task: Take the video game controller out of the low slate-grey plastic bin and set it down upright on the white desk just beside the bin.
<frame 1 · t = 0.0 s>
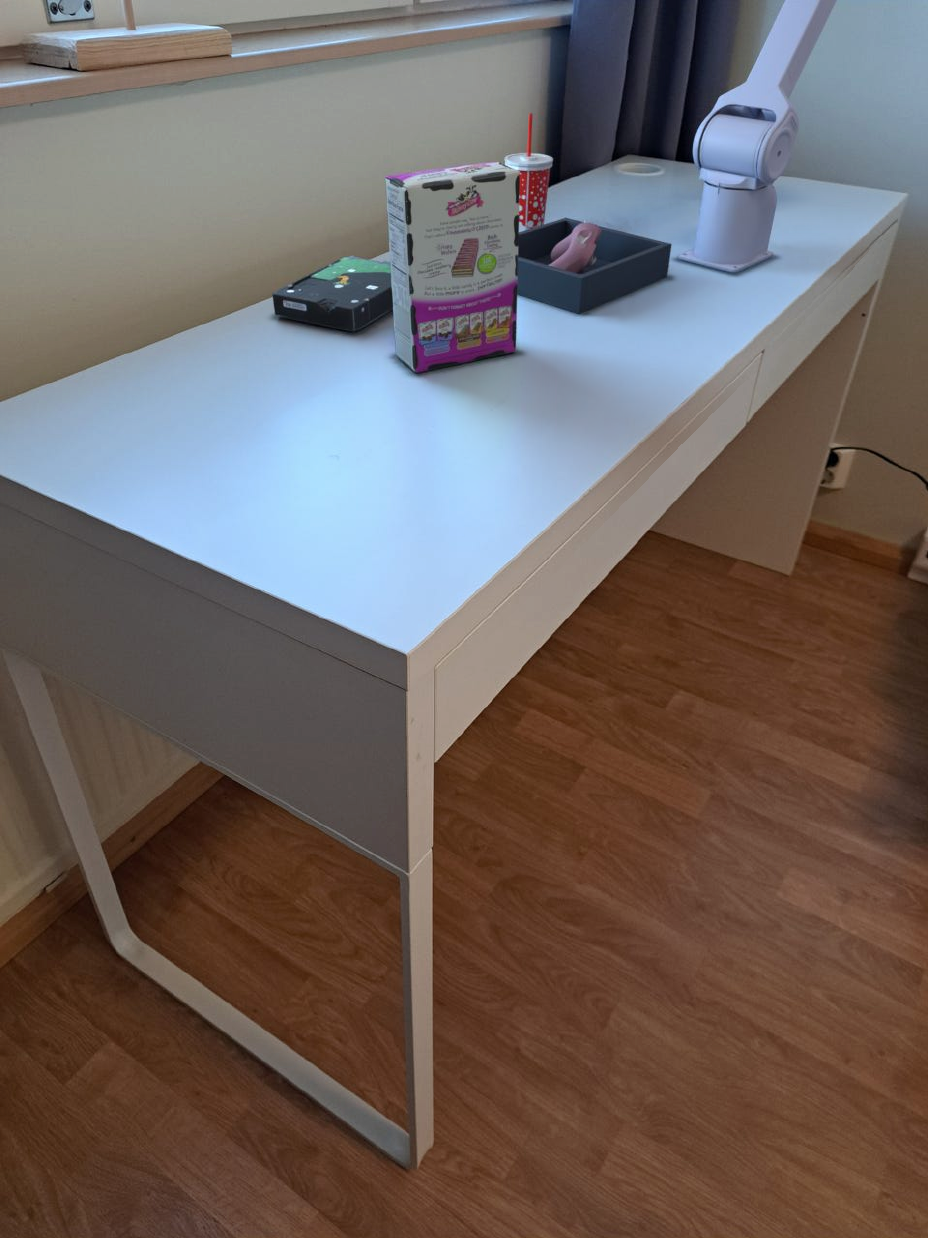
beverage cup: (525, 233, 122), on the table
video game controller: (570, 277, 107), resting on bin
bin: (570, 278, 107), on the table
disk drive: (352, 305, 100), on the table
candy bar box: (454, 356, 89), on the table
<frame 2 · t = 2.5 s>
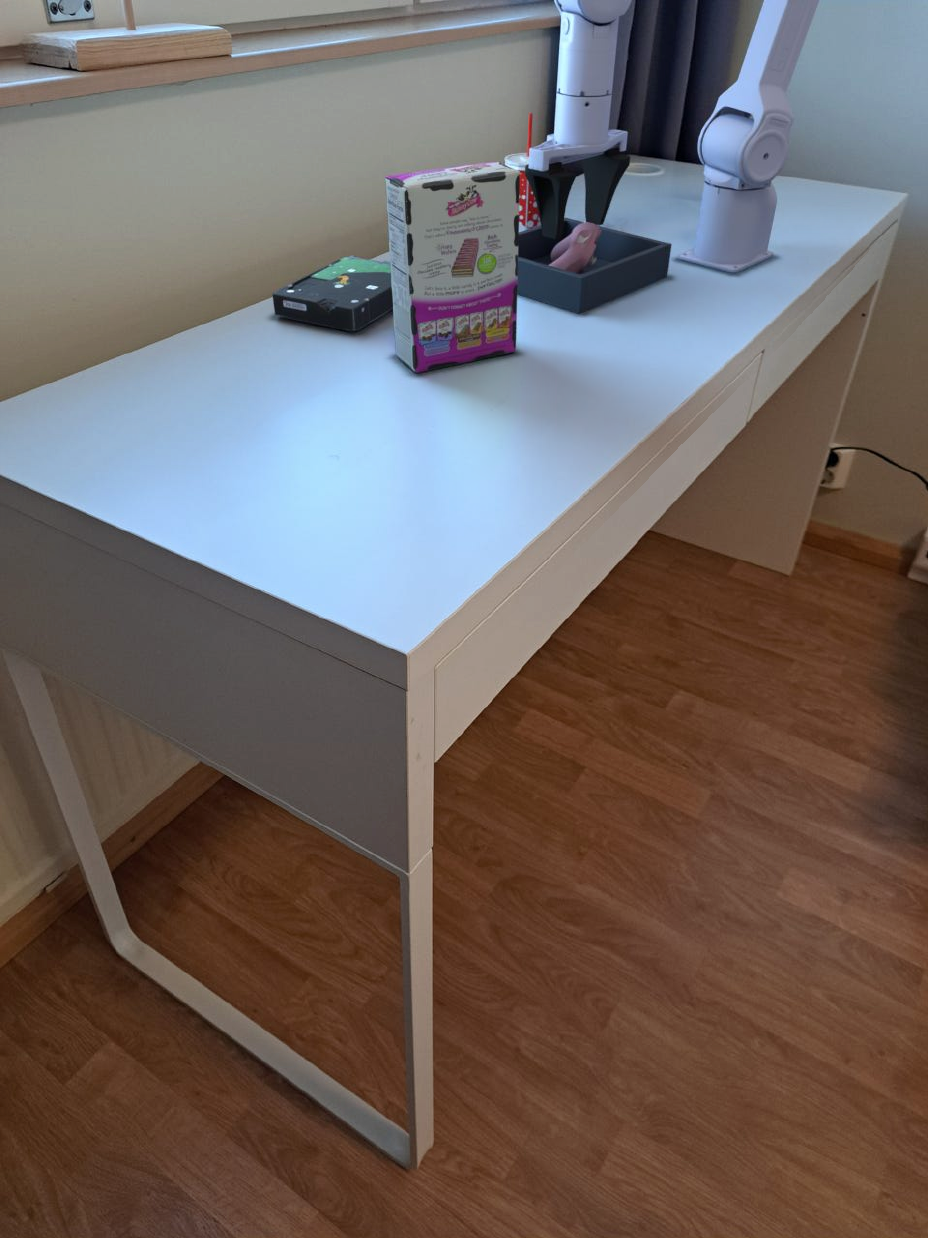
hand: (573, 229, 103), 5 cm above the table, tool pointing down, fingers open, 7 cm apart
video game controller: (570, 277, 107), resting on bin, touching gripper
everything else where it was.
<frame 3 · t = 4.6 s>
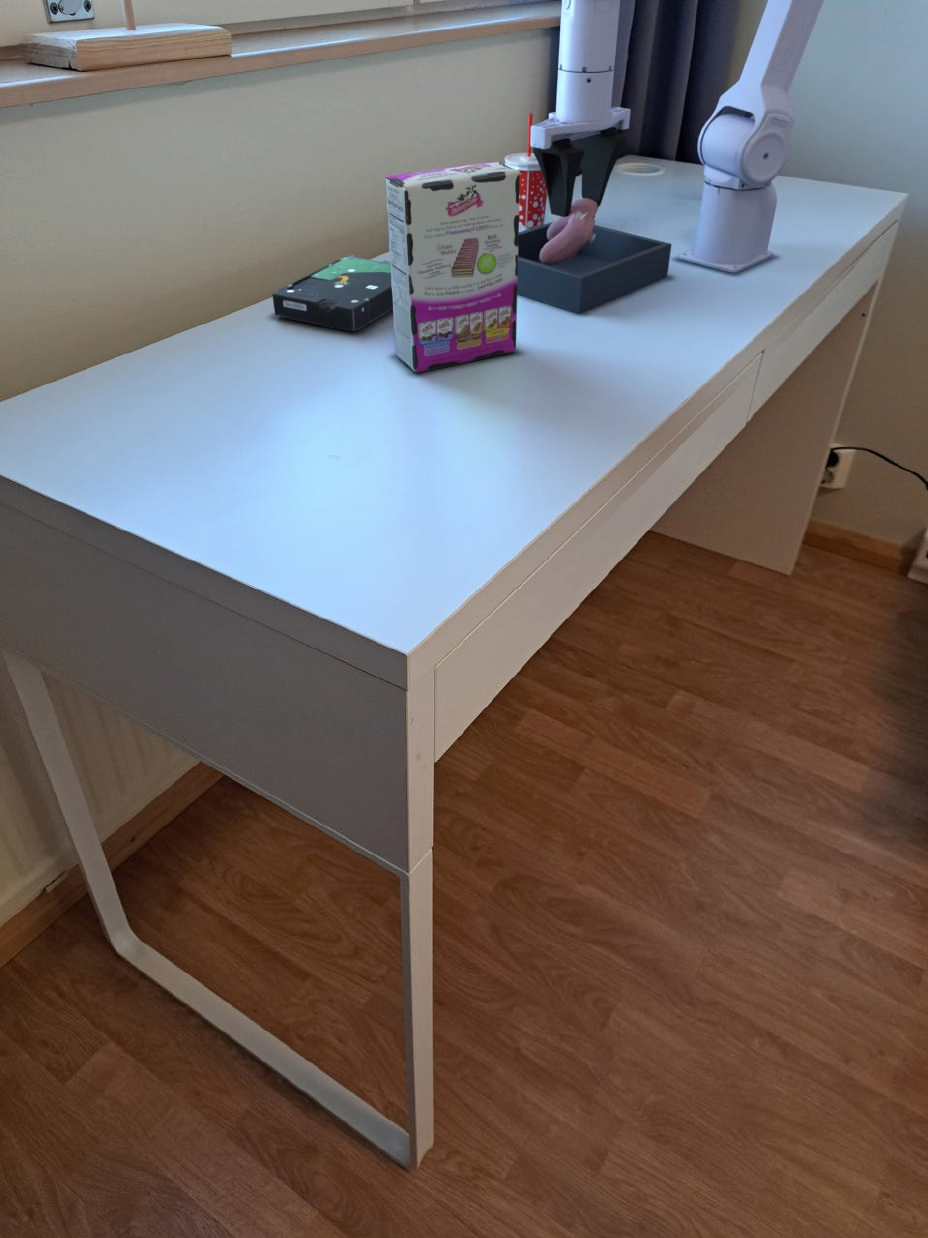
hand: (576, 209, 102), 8 cm above the table, tool pointing down, fingers closed on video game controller, 5 cm apart
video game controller: (568, 256, 104), point 3 cm above the table, touching gripper
everything else where it was.
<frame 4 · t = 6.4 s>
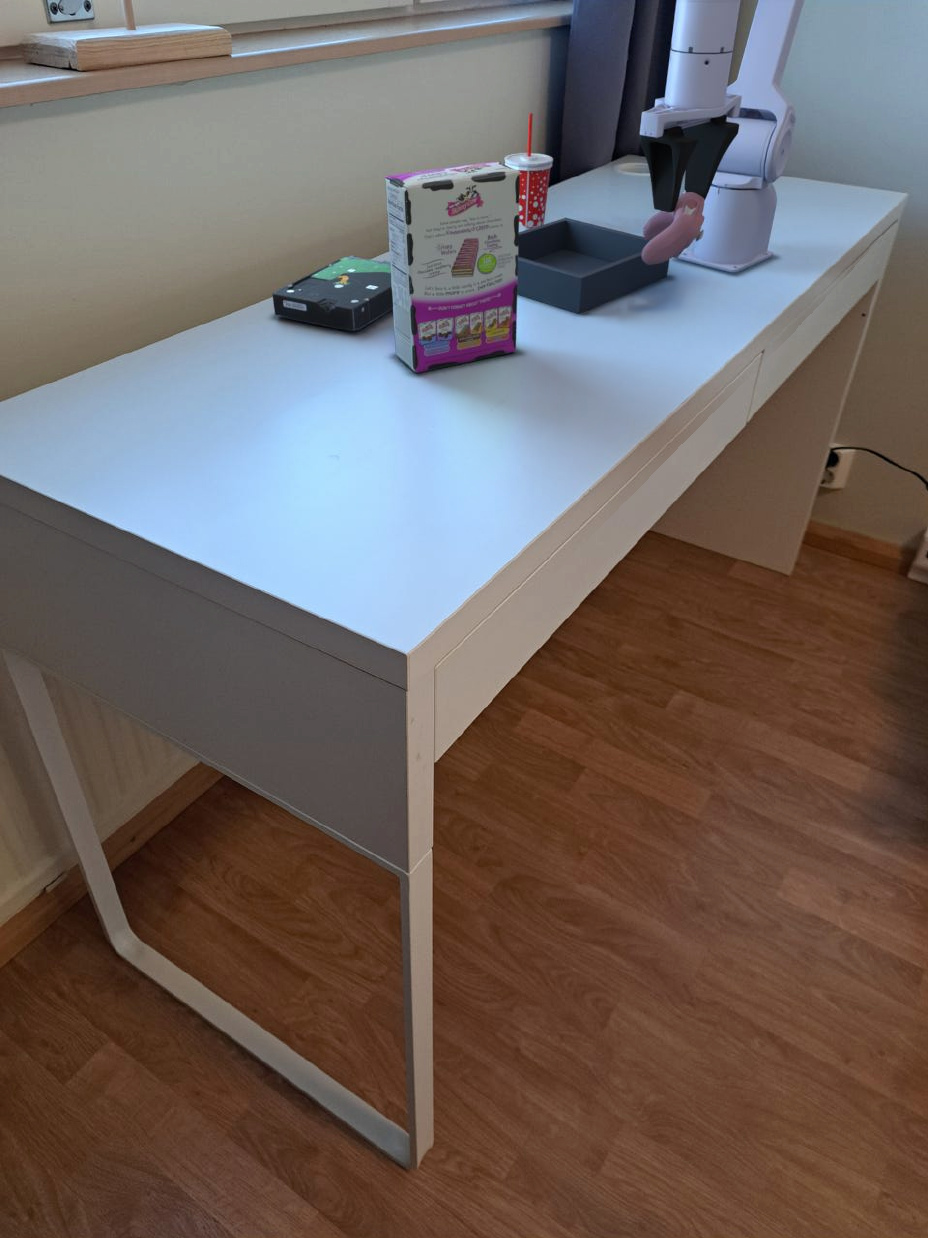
hand: (679, 204, 94), 10 cm above the table, tool pointing down, fingers closed on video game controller, 5 cm apart
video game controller: (669, 254, 96), point 5 cm above the table, touching gripper
everything else where it was.
when the fingers open (5 cm above the table, at t = 8.5 s): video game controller stays where it is, on the table.
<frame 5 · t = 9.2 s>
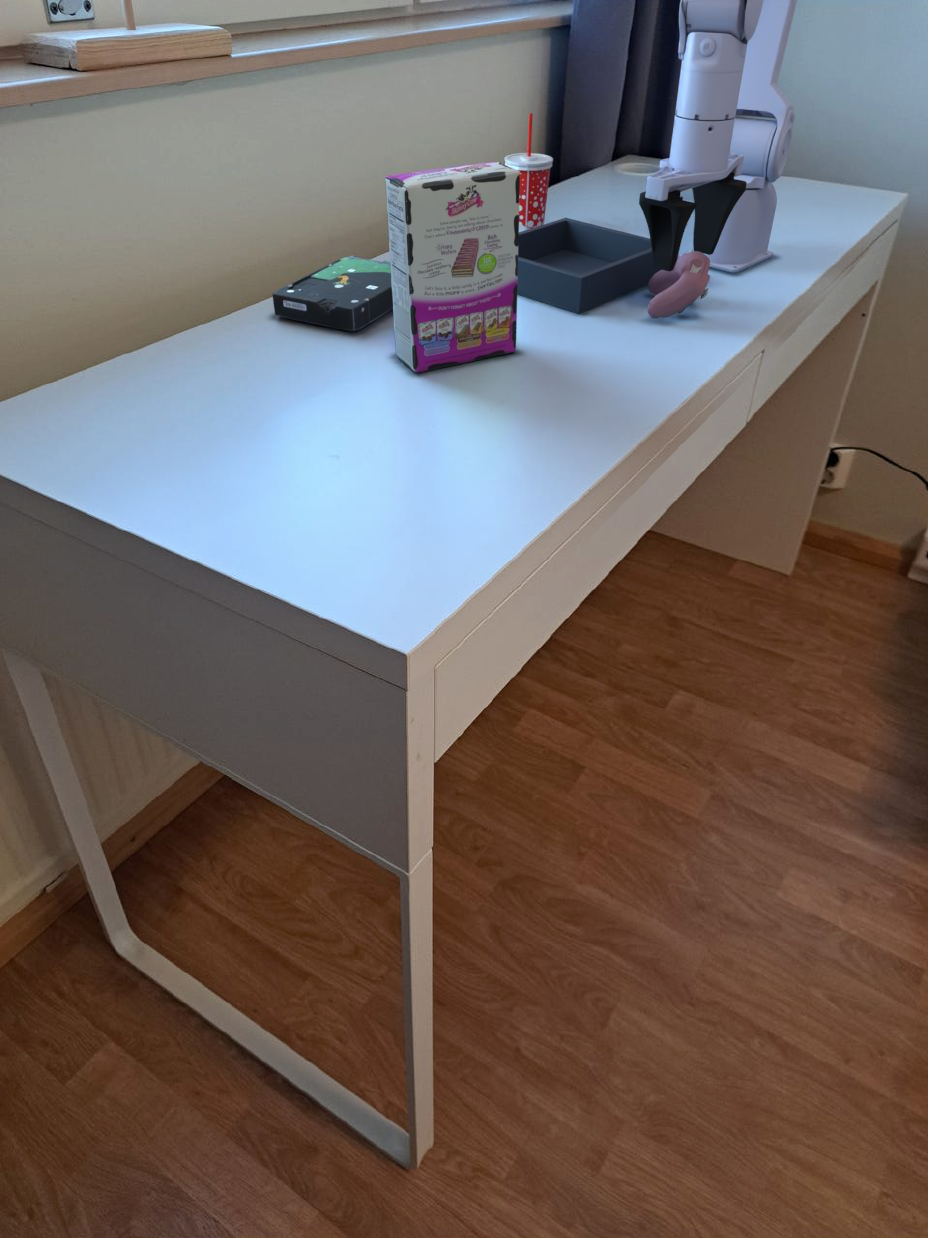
hand: (683, 260, 97), 5 cm above the table, tool pointing down, fingers open, 7 cm apart
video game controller: (672, 309, 99), on the table
everything else where it was.
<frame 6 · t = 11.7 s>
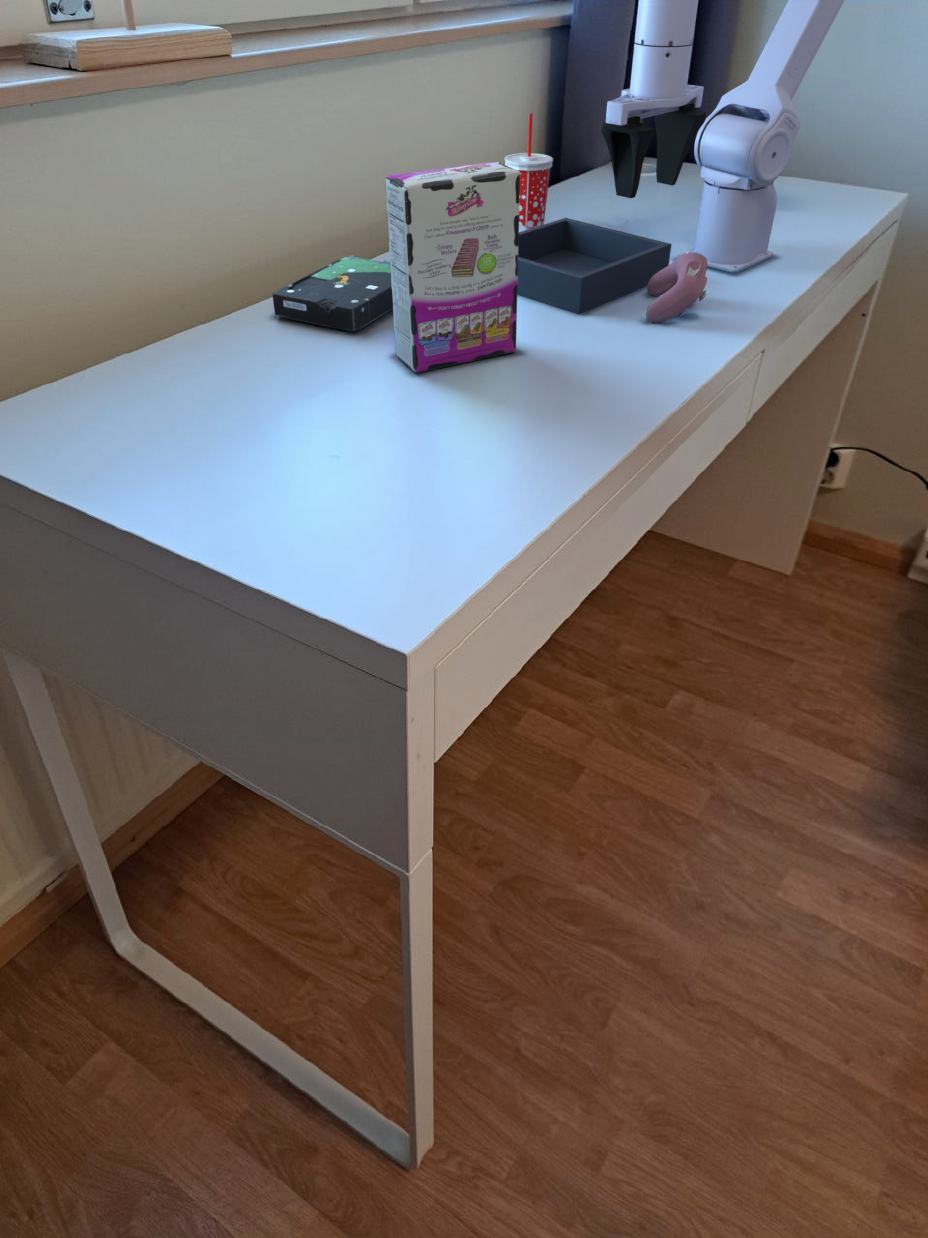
hand: (646, 189, 100), 10 cm above the table, tool pointing down, fingers open, 7 cm apart
nothing on the table moved.
at the end: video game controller inside the target area (1.2 cm from its centre), on the table; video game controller tilted 1°; the gripper is holding nothing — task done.
